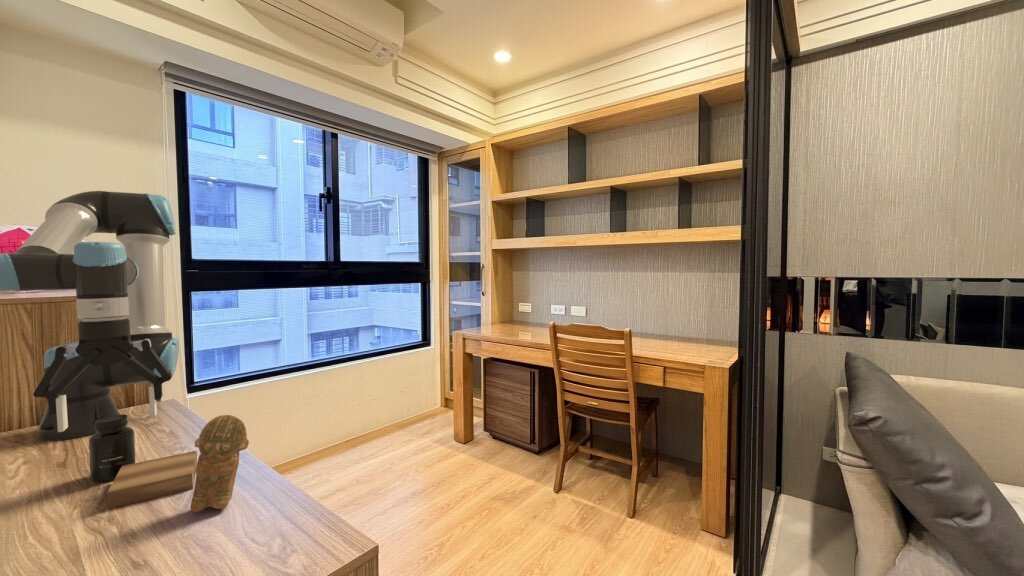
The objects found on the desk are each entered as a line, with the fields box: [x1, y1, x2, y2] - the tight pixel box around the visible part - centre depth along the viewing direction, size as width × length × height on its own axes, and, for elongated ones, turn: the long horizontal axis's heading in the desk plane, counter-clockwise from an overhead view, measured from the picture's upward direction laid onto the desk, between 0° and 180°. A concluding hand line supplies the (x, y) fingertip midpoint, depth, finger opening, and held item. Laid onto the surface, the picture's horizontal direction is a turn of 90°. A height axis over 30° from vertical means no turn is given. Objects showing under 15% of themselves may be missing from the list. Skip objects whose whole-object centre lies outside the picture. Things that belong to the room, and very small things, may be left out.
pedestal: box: [106, 450, 198, 510], centre depth 83 cm, size 12×12×3 cm
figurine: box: [190, 414, 250, 513], centre depth 76 cm, size 8×8×15 cm
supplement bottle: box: [88, 413, 136, 483], centre depth 86 cm, size 7×7×12 cm
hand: (110, 422), depth 86 cm, fingers open, 13 cm apart
